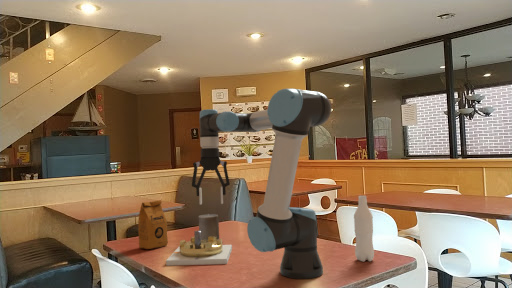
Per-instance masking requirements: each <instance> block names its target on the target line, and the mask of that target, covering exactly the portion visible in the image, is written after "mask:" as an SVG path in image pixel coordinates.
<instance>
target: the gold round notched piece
mask: <svg viewBox="0 0 512 288" xmlns="http://www.w3.org/2000/svg"><path fill="white" fill-rule="evenodd" d="M193 232H194V236H192V237H190V240H188V241H187V240H186V239H181V240H180V241H179V246H180V254H181V255H183V256H188V257H204V256H211V255H215V254H218V253H220V252H222V250H223V249H222V245H223V238H219V239H217V240H216V237H215V236H210V237H208V240H201V231H199V230H194V231H193Z"/></svg>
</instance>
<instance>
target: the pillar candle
mask: <svg viewBox="0 0 512 288" xmlns="http://www.w3.org/2000/svg"><path fill="white" fill-rule="evenodd" d="M219 225H220V220H219V214H216V213H211V214H210V212H208V213H207V214H201V215H198V231H201V240H208V237H210V236H215V237H216V240H217V239H220V226H219Z"/></svg>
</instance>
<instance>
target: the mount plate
mask: <svg viewBox="0 0 512 288" xmlns="http://www.w3.org/2000/svg"><path fill="white" fill-rule="evenodd" d="M222 249H223V250H222V252H220V253H218V254H215V255H211V256H204V257H188V256H183V255H181V254H180V245H178V247H177V248H176V249H175V250H174V251H173V252H172V254H171V255H169V257H168V258H167V259H166V260H165V264H166V265H165V266H167V267H168V266H192V265H193V266H195V265H197V266H199V265H204V266H205V265H227V264H228V262H229V260H230V256H231V253H232V250H233V244H222Z"/></svg>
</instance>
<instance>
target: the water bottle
mask: <svg viewBox="0 0 512 288" xmlns="http://www.w3.org/2000/svg"><path fill="white" fill-rule="evenodd" d="M357 198H358V201H357V204H358V205H357V208H356V209H355V211H354V214H353V219H354V220H353V222H354V223H353V224H354V235H355V248H354V249H355V250H354V254H355V257H356V260H358V261H360V262H366V260H367V261H368V262H371V261H373V259H374V257H375V247H374V244H373V241H374V240H373V234H374V226H373V225H374V223H373V218H374V217H373V213H372V212H371V210H370V208H369V206H368V199H367V195H358V197H357Z"/></svg>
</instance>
